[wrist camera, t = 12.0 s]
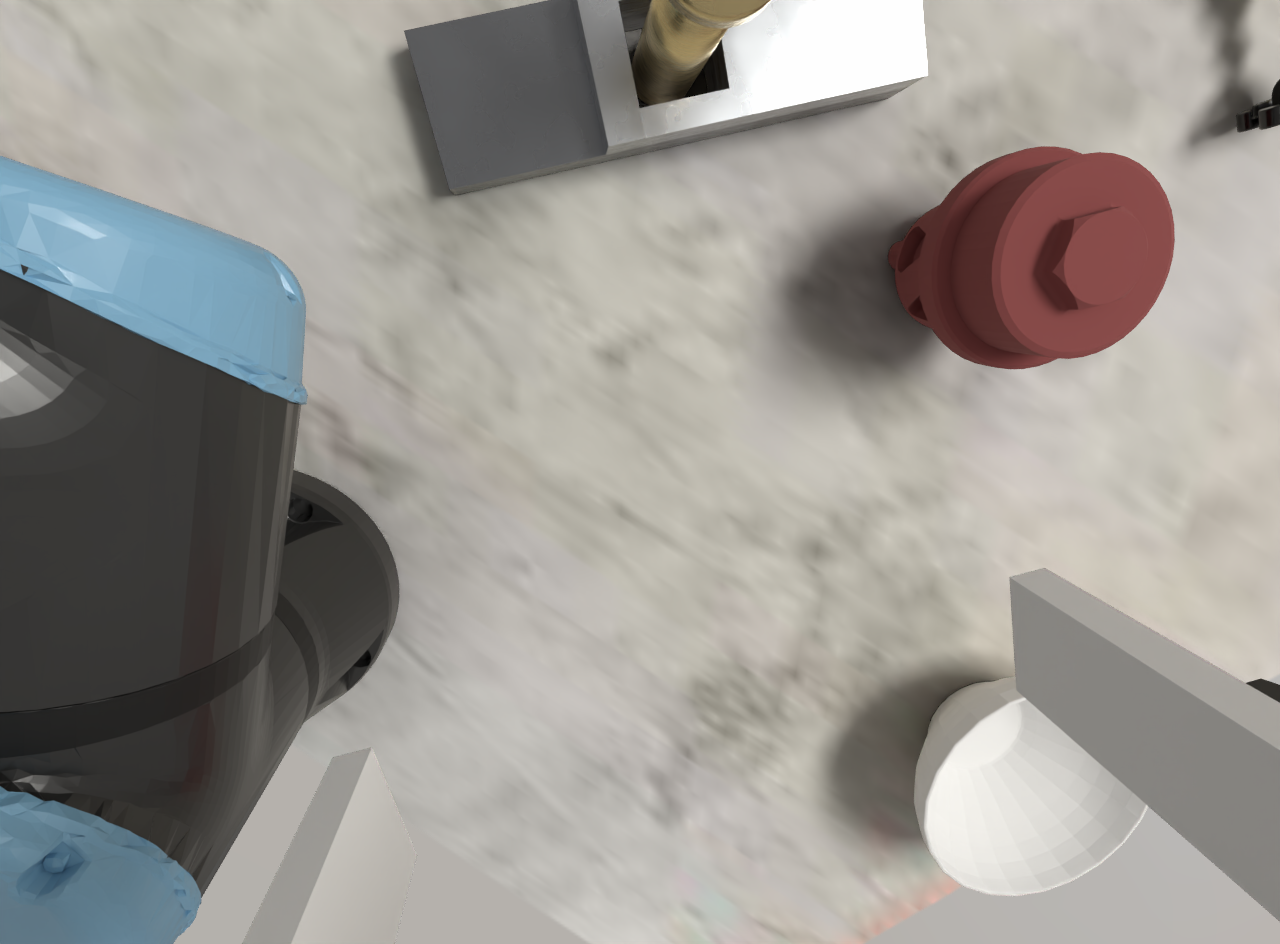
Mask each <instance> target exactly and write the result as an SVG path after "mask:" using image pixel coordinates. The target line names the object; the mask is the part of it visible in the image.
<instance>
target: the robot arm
mask: <svg viewBox="0 0 1280 944" xmlns="http://www.w3.org/2000/svg"><path fill="white" fill-rule="evenodd" d="M305 319H306V304H305V298H304V294H303V291H302V288H301V286H300V284H299V282H298V280H297V278H296V277H295V275H294V274H293V272H292V271H291V270H290V269H289V268H288V267H287V265H286V264H284V263H283V262H282V261H281V260H280V259H279V258H278V257H276V256H275V255H274V254H272V253H271V252H269V251H267V250H266V249H264V248H262V247H260V246H257V245H255V244H252V243H250V242H247V241H245V240H242V239H240V238H237V237H234V236H231V235H229V234H226V233H223V232H220V231H218V230H215V229H212V228H209V227H206V226H204V225H201V224H198V223H195V222H192V221H190V220H187V219H184V218H181V217H178V216H175V215H172V214H170V213H167V212H164V211H161V210H158V209H155V208H152V207H149V206H147V205H144V204H141V203H138V202H135V201H132V200H129V199H126V198H123V197H121V196H118V195H115V194H112V193H109V192H106V191H103V190H100V189H97V188H94V187H92V186H89V185H86V184H83V183H80V182H77V181H74V180H71V179H68V178H65V177H62V176H59V175H56V174H53V173H50V172H47V171H44V170H41V169H38V168H35V167H32V166H29V165H26V164H23V163H20V162H17V161H15V160H12V159H9V158H6V157H3V156H0V944H173V943H174V942H175V940H176V939H177V937H178V936H179V935H181V934H182V933H183V932H184V931H185V930H186V928H188V927H189V926H190V925H191V924H192V922H193V921H194V919H195V918H196V914H197V910H198V908H199V905H200V904H201V898H202V896H203V894H204V893H205V891H206V889H207V887H208V886H209V884H210V882H211V881H212V879H213V877H214V875H215V873H216V872H217V870H218V868H219V867H220V865H221V863H222V862H223V860H224V858H225V857H226V855H227V853H228V851H229V850H230V848H231V846H232V845H233V843H234V841H235V839H236V838H237V836H238V834H239V833H240V831H241V829H242V827H243V825H244V824H245V822H246V821H247V819H248V817H249V815H250V814H251V812H252V810H253V809H254V807H255V805H256V803H257V802H258V800H259V798H260V797H261V795H262V793H263V792H264V790H265V788H266V786H267V785H268V783H269V781H270V780H271V778H272V776H273V774H274V773H275V771H276V769H277V768H278V766H279V764H280V762H281V761H282V759H283V757H284V755H285V754H286V752H287V750H288V749H289V747H290V745H291V744H292V742H293V740H294V738H295V737H296V735H297V733H298V731H299V729H300V728H301V726H302V724H303V723H304V722H305V721H306V720H308V719H309V718H311V717H312V716H314V715H315V714H316V713H318V712H319V711H321V710H322V709H323V708H325V707H326V706H328V705H329V704H331V703H332V702H333V701H335V700H336V699H338V698H339V697H340V696H342V695H343V694H345V693H346V692H347V691H349V690H350V689H351V688H352V687H353V686H354V685H355V684H357V683H358V682H359V681H360V680H361V679H362V678H363V676H364V675H365V674H366V673H367V672H368V670H369V669H370V668H371V667H372V665H373V664H374V662H375V661H376V659H377V658H378V656H379V654H380V652H381V650H382V648H383V646H384V644H385V642H386V640H387V638H388V636H389V634H390V632H391V630H392V627H393V625H394V622H395V618H396V615H397V610H398V603H399V580H398V574H397V569H396V565H395V562H394V558H393V555H392V553H391V551H390V548H389V546H388V544H387V542H386V540H385V538H384V537H383V535H382V533H381V532H380V530H379V529H378V527H377V526H376V525H375V523H374V522H373V521H372V520H371V518H370V517H369V516H368V515H367V514H366V513H365V512H364V511H363V510H362V509H361V508H360V507H359V506H358V505H357V504H356V503H355V502H354V501H352V500H351V499H350V498H348V497H347V496H346V495H344V494H343V493H342V492H340V491H339V490H337V489H335V488H334V487H332V486H330V485H329V484H327V483H325V482H323V481H321V480H319V479H316V478H314V477H312V476H309V475H306V474H304V473H301V472H298V471H294V470H293V468H294V459H295V451H296V443H297V434H298V426H299V418H300V410H301V405H303V404H306V403H307V396H308V395H307V392H306V389H305V387H304V386H303V385H302V369H303V352H304V336H305ZM1009 578H1010V594H1011V611H1012V627H1013V644H1014V661H1015V677H1016V690H1017V691H1018V692H1019V693H1020V694H1021V695H1022V696H1023V697H1025V698H1026V699H1027V700H1028V701H1029V702H1030V703H1031V704H1032V705H1034V706H1035V707H1036V708H1037V709H1038V710H1039V711H1040V712H1042V713H1043V714H1044V715H1045V716H1046V717H1047V718H1048V719H1050V720H1051V721H1052V722H1053V723H1054V724H1055V725H1056V726H1058V727H1059V728H1060V729H1061V730H1062V731H1063V732H1064V733H1066V734H1067V735H1068V736H1069V737H1070V738H1071V739H1072V740H1073V741H1075V742H1076V743H1077V744H1078V745H1079V746H1080V747H1081V748H1083V749H1084V750H1085V751H1086V752H1087V753H1088V754H1089V755H1091V756H1092V757H1093V758H1094V759H1095V760H1096V761H1097V762H1099V763H1100V764H1101V765H1102V766H1103V767H1104V768H1105V769H1107V770H1108V771H1109V772H1110V773H1111V774H1112V775H1113V776H1114V777H1116V778H1117V779H1118V780H1119V781H1120V782H1121V783H1122V784H1124V785H1125V786H1126V787H1127V788H1128V789H1129V790H1130V791H1132V792H1133V793H1134V794H1135V795H1136V796H1137V797H1138V798H1140V799H1141V800H1142V801H1143V802H1144V803H1145V804H1146V805H1148V806H1149V807H1150V808H1151V809H1152V810H1153V811H1154V812H1155V813H1157V814H1158V815H1159V816H1160V817H1161V818H1162V819H1164V820H1165V821H1166V822H1167V823H1168V824H1169V825H1170V826H1171V827H1173V828H1174V829H1175V830H1176V831H1177V832H1178V833H1179V834H1181V835H1182V836H1183V837H1184V838H1185V839H1186V840H1187V841H1189V842H1190V843H1191V844H1192V845H1193V846H1194V847H1195V848H1197V849H1198V850H1199V851H1200V852H1201V853H1202V854H1204V856H1206V857H1207V858H1208V859H1209V860H1210V861H1211V862H1212V863H1214V864H1215V865H1216V866H1217V867H1218V868H1219V869H1220V870H1222V871H1223V872H1224V873H1225V874H1226V875H1227V876H1229V877H1230V878H1231V879H1232V880H1233V881H1234V882H1235V883H1236V884H1237V885H1239V886H1240V887H1241V888H1242V889H1243V890H1244V891H1245V892H1247V893H1248V894H1249V895H1250V896H1251V897H1252V898H1253V899H1255V900H1256V901H1257V902H1258V903H1259V904H1260V905H1261V906H1263V907H1264V908H1265V909H1266V910H1267V911H1268V912H1269V913H1271V914H1272V915H1273V916H1274V917H1275V918H1276V919H1278V921H1280V685H1278V684H1275V683H1272V682H1269V681H1267V680H1264V679H1258V680H1255V681H1251V682H1247V683H1244V682H1243V681H1241V680H1239V679H1237V678H1236V677H1234V676H1232V675H1230V674H1229V673H1227V672H1225V671H1223V670H1222V669H1220V668H1218V667H1216V666H1215V665H1213V664H1211V663H1209V662H1208V661H1206V660H1204V659H1203V658H1201V657H1199V656H1197V655H1196V654H1194V653H1192V652H1190V651H1189V650H1187V649H1185V648H1183V647H1182V646H1180V645H1178V644H1176V643H1175V642H1173V641H1171V640H1169V639H1168V638H1166V637H1164V636H1162V635H1161V634H1159V633H1157V632H1155V631H1154V630H1152V629H1150V628H1148V627H1147V626H1145V625H1143V624H1142V623H1140V622H1138V621H1136V620H1135V619H1133V618H1131V617H1129V616H1128V615H1126V614H1124V613H1122V612H1121V611H1119V610H1117V609H1115V608H1114V607H1112V606H1110V605H1108V604H1107V603H1105V602H1103V601H1101V600H1100V599H1098V598H1096V597H1094V596H1093V595H1091V594H1089V593H1088V592H1086V591H1084V590H1082V589H1081V588H1079V587H1077V586H1075V585H1074V584H1072V583H1070V582H1068V581H1067V580H1065V579H1063V578H1061V577H1060V576H1058V575H1056V574H1054V573H1053V572H1051V571H1049V570H1047V569H1046V568H1043V569H1039V570H1035V571H1031V572H1028V573H1024V574H1020V575H1016V576H1013V577H1009ZM416 858H417V854H416V852H415V849H414V847H413V845H412V842H411V840H410V838H409V835H408V833H407V830H406V828H405V825H404V823H403V821H402V818H401V816H400V813H399V811H398V809H397V806H396V804H395V801H394V799H393V797H392V794H391V792H390V789H389V787H388V785H387V782H386V780H385V777H384V775H383V773H382V770H381V768H380V765H379V763H378V761H377V758H376V756H375V753H374V751H373V749H372V747H371V748H367V749H363V750H360V751H356V752H352V753H348V754H345V755H341V756H337V757H333V758H332V760H331V762H330V764H329V766H328V768H327V770H326V772H325V775H324V776H323V779H322V781H321V783H320V785H319V787H318V789H317V791H316V793H315V795H314V797H313V799H312V801H311V803H310V805H309V807H308V810H307V811H306V813H305V815H304V818H303V820H302V822H301V824H300V826H299V828H298V830H297V832H296V834H295V836H294V838H293V840H292V842H291V844H290V846H289V848H288V850H287V852H286V855H285V857H284V859H283V861H282V863H281V865H280V867H279V869H278V871H277V873H276V875H275V877H274V879H273V881H272V883H271V885H270V887H269V889H268V892H267V894H266V896H265V898H264V900H263V902H262V904H261V906H260V908H259V910H258V912H257V914H256V916H255V918H254V920H253V922H252V925H251V927H250V928H249V931H248V933H247V935H246V937H245V939H244V941H243V943H242V944H395V941H396V937H397V933H398V929H399V925H400V921H401V917H402V914H403V909H404V905H405V901H406V898H407V894H408V890H409V886H410V882H411V878H412V874H413V870H414V866H415V862H416Z"/></svg>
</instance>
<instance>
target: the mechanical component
mask: <svg viewBox="0 0 1280 944" xmlns="http://www.w3.org/2000/svg"><path fill="white" fill-rule="evenodd" d="M1174 241H1175V239H1174V221H1173V216H1172V210H1171V207H1170V204H1169V201H1168V199H1167V196H1166V194H1165V192H1164V190H1163V189H1162V187H1161V185H1160V183H1159V182H1158V181H1157V180H1156V178H1155V177H1154V176H1153V175H1152V174H1151V172H1149V171H1148V170H1147V169H1146V168H1144V167H1143V166H1142V165H1141V164H1139V163H1137V162H1135V161H1134V160H1132V159H1130V158H1128V157H1125V156H1121V155H1117V154H1114V153H1101V152H1098V153H1089V154H1081V153H1078V152H1076V151H1073V150H1070V149H1065V148H1060V147H1036V148H1029V149H1024V150H1021V151H1018V152H1014V153H1011V154H1008V155H1004V156H1001V157H999V158H996V159H994V160H991V161H989V162H987V163H985V164H984V165H982V166H980V167H978V168H977V169H975V170H974V171H972V172H971V173H970V174H969V175H967V176H966V177H965V178H963V179H962V180H961V181H960V182H959V183H958V184H957V185H956V186H955V187H954V188H953V189H952V190H951V191H950V193H949V194H948V195H947V197H946V198H945V199H944V201H943V202H942V203H941V205H939V206H937V207H935V208H933V209H932V210H930V211H928V212H927V213H925V214H924V215H923V216H922V217H921V218H919V219H918V220H917V221H916V223H915V224H914V225H913V226H912V227H911V228H910V230H909V232H908V233H907V235H906V236H905V238H904V240H902V241H898V242H896V243H895V244H894V245H893V246H892V247H891V248H890V250H889V254H888V261H889V264H890V265H891V267H892V268H894V269H895V283H896V288H897V292H898V295H899V298H900V300H901V303H902V305H903V306H904V308H905V309H906V311H907V312H908V313H909V314H910V315H911V316H912V317H913V318H914V319H915V320H916V321H918V322H919V323H921V324H922V325H924V326H927V327H929V328H932V329H933V331H934V333H935V334H936V335H937V336H938V338H939V339H940V340H941V341H942V343H943V344H945V345H946V346H947V347H948V348H949V349H950V350H951V351H952V352H954V353H956V354H957V355H959V356H960V357H962V358H964V359H966V360H969V361H971V362H974V363H977V364H981V365H986V366H991V367H997V368H1004V369H1025V368H1031V367H1036V366H1040V365H1043V364H1046V363H1049V362H1051V361H1053V360H1055V359H1057V358H1066V359H1071V358H1078V357H1084V356H1087V355H1091V354H1094V353H1097V352H1099V351H1101V350H1104V349H1106V348H1108V347H1110V346H1112V345H1113V344H1115V343H1116V342H1118V341H1119V340H1121V339H1122V338H1124V337H1125V336H1126V335H1127V334H1128V333H1129V332H1131V331H1132V330H1133V329H1134V328H1135V327H1136V326H1137V325H1138V324H1139V323H1140V322H1141V320H1142V319H1143V318H1144V317H1145V316H1146V315H1147V313H1148V312H1149V310H1150V309H1151V308H1152V306H1153V305H1154V303H1155V302H1156V300H1157V298H1158V296H1159V294H1160V292H1161V290H1162V289H1163V286H1164V284H1165V281H1166V278H1167V276H1168V273H1169V270H1170V266H1171V262H1172V258H1173V250H1174Z"/></svg>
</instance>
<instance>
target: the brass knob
mask: <svg viewBox="0 0 1280 944" xmlns="http://www.w3.org/2000/svg"><path fill="white" fill-rule="evenodd" d="M770 2H771V0H652V1H651V4H650V7H649V10H648V13H647V17H646V20H645V23H644V26H643V29H642V32H641V35H640V39H639V42H638V45H637V48H636V51H635V54H634V58H633V61H632V65H631V68H632V73H633V78H634V83H635V88H636V93H637V95H638V97H639V98H640V99H641V100H642V101H643V102H644V103H646V104H647V105H649V106H652V105H656V104H661V103H665V102H670V101H675V100H679V99H683V98H684V96H685V95H686V93H687V92H688V90H689V89H690V87H691V86H692V84H693V82H694V81H695V79H696V78H697V76H698V75H699V73H700V72H701V70H702V68H703V67H704V65H705V64H706V62H707V61H708V59H709V58H710V56H711V54H712V53H713V51H714V50H715V48H716V47H717V45H718V44H719V42H720V40H721V39H722V37H723V36H724V34H725V33H726V31H727V30H728V28H731V27H735V26H739V25H742V24H744V23H746V22H748V21H750V20H751V19H753V18H754V17H756V16H757V15H758V14H760V13H761V12H762V11H763V10H764V9H765V8H766V7H767V5H768V4H769V3H770Z"/></svg>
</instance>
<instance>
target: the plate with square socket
mask: <svg viewBox="0 0 1280 944" xmlns="http://www.w3.org/2000/svg"><path fill="white" fill-rule="evenodd" d="M651 1H652V0H548V1H543V2H539V3H534V4H529V5H524V6H520V7H515V8H510V9H505V10H501V11H496V12H491V13H486V14H482V15H477V16H472V17H467V18H462V19H458V20H453V21H448V22H443V23H439V24H434V25H429V26H424V27H420V28H415V29H410V30H405V31H404V32H405V36H406V39H407V43H408V46H409V50H410V53H411V57H412V60H413V64H414V67H415V71H416V74H417V78H418V81H419V85H420V88H421V92H422V95H423V99H424V102H425V106H426V109H427V113H428V116H429V120H430V123H431V127H432V130H433V134H434V137H435V141H436V144H437V148H438V151H439V155H440V158H441V162H442V165H443V169H444V172H445V176H446V179H447V183H448V186H449V190H450V191H452V192H453V193H454V194H455V195H459V194H464V193H468V192H473V191H477V190H482V189H486V188H491V187H495V186H500V185H504V184H508V183H513V182H517V181H522V180H526V179H531V178H535V177H540V176H544V175H549V174H553V173H558V172H562V171H566V170H571V169H575V168H580V167H584V166H589V165H593V164H598V163H602V162H607V161H611V160H616V159H620V158H624V157H629V156H633V155H638V154H642V153H647V152H651V151H656V150H660V149H665V148H669V147H674V146H678V145H683V144H687V143H691V142H696V141H700V140H705V139H709V138H714V137H718V136H723V135H727V134H732V133H736V132H741V131H745V130H749V129H754V128H758V127H763V126H767V125H772V124H776V123H781V122H785V121H790V120H794V119H799V118H803V117H807V116H812V115H816V114H821V113H825V112H830V111H834V110H839V109H843V108H848V107H852V106H857V105H861V104H865V103H870V102H874V101H879V100H883V99H888V98H890V97H892V96H893V95H895V94H897V93H898V92H900V91H902V90H904V89H905V88H907V87H909V86H910V85H912V84H914V83H915V82H917V81H919V80H921V79H922V78H924V77H926V76H927V75H928V68H927V56H926V43H925V31H924V18H923V6H922V0H771V2H770V3H769V4H768V5H767V7H766V8H765V9H764V10H763V11H762V12H761V13H760V14H758V15H757V16H756V17H754V18H753V19H751V20H750V21H748V22H746V23H744V24H742V25H739V26H735V27H731V28H728V30H727V31H726V33H725V34H724V36H723V37H722V39H721V40H720V42H719V44H718V45H717V47H716V48H715V50H714V51H713V53H712V54H711V56H710V58H709V59H708V61H707V62H706V64H705V65H704V67H703V68H704V73H705V79H706V85H707V91H708V93H706V94H702V95H697V96H693V97H688V98H684V99H679V100H675V101H670V102H665V103H661V104H656V105H652V106H647V107H643V108H639V103H638V98H637V93H636V88H635V83H634V78H633V73H632V68H631V63H630V58H629V53H628V48H627V43H626V38H625V33H624V32H626V31H631V30H636V29H640V28H643V26H644V23H645V20H646V17H647V13H648V10H649V7H650V4H651Z"/></svg>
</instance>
